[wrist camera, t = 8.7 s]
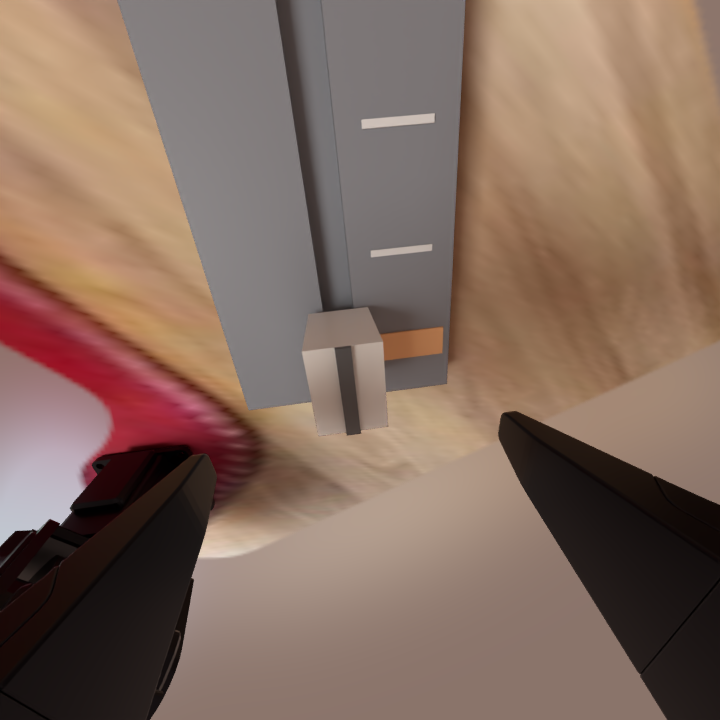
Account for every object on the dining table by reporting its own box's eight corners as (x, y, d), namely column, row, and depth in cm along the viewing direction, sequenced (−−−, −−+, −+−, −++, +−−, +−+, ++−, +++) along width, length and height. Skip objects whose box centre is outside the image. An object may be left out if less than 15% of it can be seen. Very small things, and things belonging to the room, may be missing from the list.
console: (433, 365, 20) (447, 384, 18) (257, 387, 20) (248, 411, 17) (444, -96, 11) (475, -176, 9) (121, -79, 11) (64, -160, 8)
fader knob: (370, 365, 18) (388, 429, 13) (320, 372, 18) (318, 439, 12) (365, 300, 16) (383, 343, 11) (309, 307, 16) (301, 353, 11)
